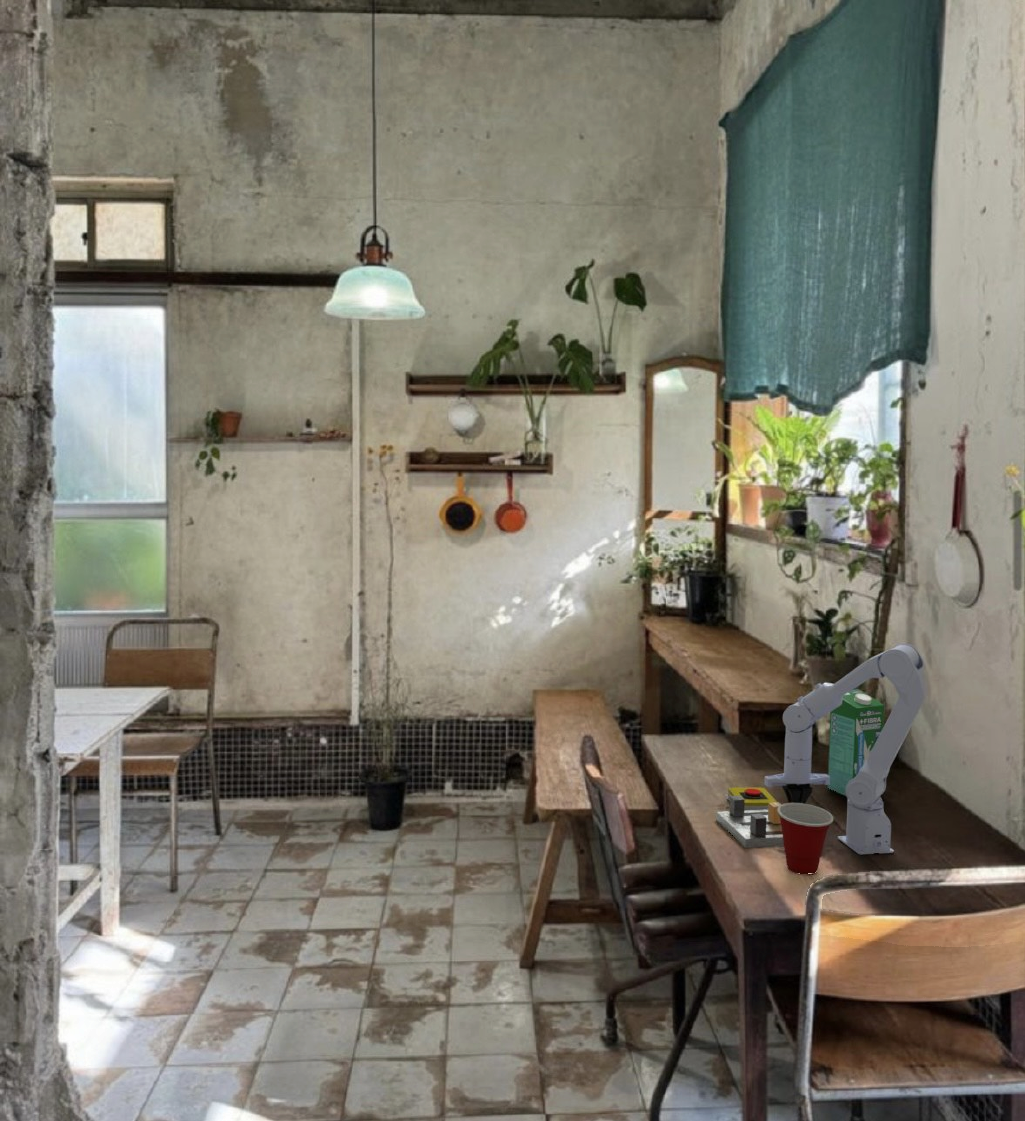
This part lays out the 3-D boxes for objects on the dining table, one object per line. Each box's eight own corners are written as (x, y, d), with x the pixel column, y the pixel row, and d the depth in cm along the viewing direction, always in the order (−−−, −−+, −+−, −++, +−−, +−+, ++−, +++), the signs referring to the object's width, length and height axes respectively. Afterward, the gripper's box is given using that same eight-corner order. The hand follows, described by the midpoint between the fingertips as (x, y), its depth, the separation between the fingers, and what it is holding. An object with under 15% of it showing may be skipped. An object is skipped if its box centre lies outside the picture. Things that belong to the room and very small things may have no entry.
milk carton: (852, 799, 240) (857, 698, 238) (827, 788, 248) (830, 691, 246) (881, 794, 243) (885, 695, 241) (854, 784, 252) (858, 688, 249)
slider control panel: (807, 844, 209) (808, 817, 209) (745, 847, 207) (746, 820, 207) (774, 817, 226) (775, 792, 225) (716, 820, 224) (717, 794, 223)
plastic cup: (808, 885, 188) (810, 824, 187) (763, 867, 197) (765, 808, 196) (843, 872, 195) (845, 813, 194) (798, 855, 203) (800, 798, 202)
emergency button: (741, 799, 226) (724, 779, 241) (740, 818, 227) (724, 797, 242) (780, 799, 227) (761, 779, 242) (780, 818, 227) (761, 797, 242)
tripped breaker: (783, 823, 216) (784, 805, 215) (773, 823, 215) (773, 806, 215) (778, 818, 218) (778, 801, 218) (767, 819, 218) (768, 802, 218)
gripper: (820, 750, 221) (818, 809, 223) (759, 752, 219) (757, 811, 220) (835, 759, 215) (832, 820, 216) (772, 761, 212) (770, 822, 213)
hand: (795, 816), depth 218 cm, fingers closed
